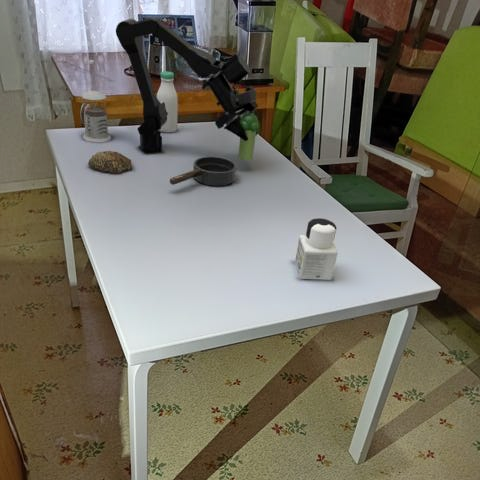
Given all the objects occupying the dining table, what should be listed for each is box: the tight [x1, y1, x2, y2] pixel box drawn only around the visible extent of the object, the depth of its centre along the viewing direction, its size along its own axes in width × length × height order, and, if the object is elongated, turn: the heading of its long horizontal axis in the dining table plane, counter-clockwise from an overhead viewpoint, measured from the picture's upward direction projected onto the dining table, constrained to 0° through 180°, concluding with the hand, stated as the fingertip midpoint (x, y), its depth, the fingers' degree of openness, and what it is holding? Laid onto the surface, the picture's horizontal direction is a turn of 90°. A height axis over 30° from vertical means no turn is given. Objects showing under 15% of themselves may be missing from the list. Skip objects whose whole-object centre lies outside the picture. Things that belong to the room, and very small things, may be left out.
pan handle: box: [169, 169, 202, 186], centre depth 154 cm, size 13×2×2 cm, turn 140°
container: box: [294, 217, 339, 281], centre depth 122 cm, size 8×8×13 cm
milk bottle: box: [156, 70, 179, 133], centre depth 191 cm, size 8×8×20 cm
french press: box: [79, 59, 112, 143], centre depth 175 cm, size 10×12×25 cm
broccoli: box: [237, 113, 260, 161], centre depth 166 cm, size 7×7×14 cm
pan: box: [192, 156, 237, 187], centre depth 163 cm, size 13×13×4 cm
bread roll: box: [87, 150, 133, 175], centre depth 163 cm, size 13×12×5 cm
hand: (251, 137), depth 165 cm, fingers closed on broccoli, 6 cm apart
